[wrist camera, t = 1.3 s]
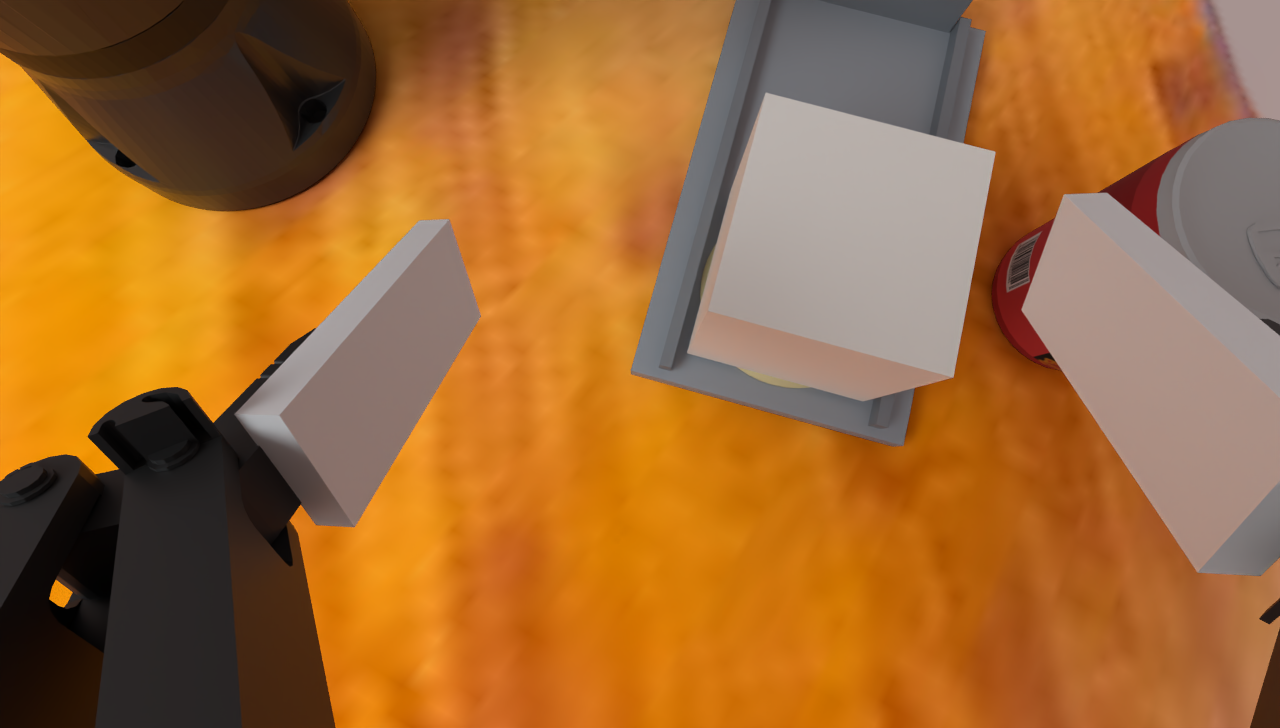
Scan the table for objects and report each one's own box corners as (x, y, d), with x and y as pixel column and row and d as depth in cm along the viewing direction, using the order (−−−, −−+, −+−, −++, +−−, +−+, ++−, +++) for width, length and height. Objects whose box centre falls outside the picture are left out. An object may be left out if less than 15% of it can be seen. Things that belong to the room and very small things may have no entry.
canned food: (1027, 396, 30) (1245, 359, 20) (960, 260, 32) (1131, 154, 21) (1154, 346, 31) (1435, 283, 20) (1084, 213, 32) (1312, 87, 21)
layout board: (892, 446, 30) (927, 444, 26) (631, 374, 30) (630, 362, 27) (973, 44, 34) (1013, -5, 30) (740, -14, 34) (753, -69, 31)
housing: (863, 401, 29) (953, 377, 21) (686, 353, 29) (707, 310, 21) (898, 235, 30) (995, 151, 22) (730, 190, 30) (765, 92, 22)
